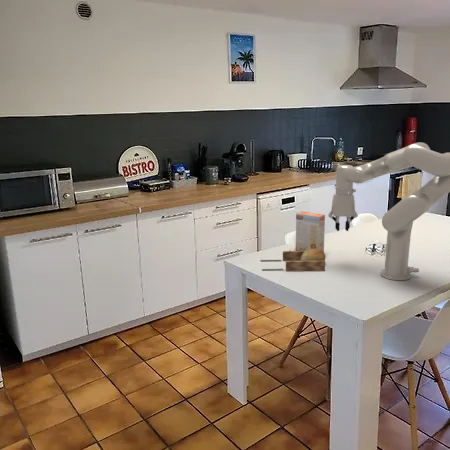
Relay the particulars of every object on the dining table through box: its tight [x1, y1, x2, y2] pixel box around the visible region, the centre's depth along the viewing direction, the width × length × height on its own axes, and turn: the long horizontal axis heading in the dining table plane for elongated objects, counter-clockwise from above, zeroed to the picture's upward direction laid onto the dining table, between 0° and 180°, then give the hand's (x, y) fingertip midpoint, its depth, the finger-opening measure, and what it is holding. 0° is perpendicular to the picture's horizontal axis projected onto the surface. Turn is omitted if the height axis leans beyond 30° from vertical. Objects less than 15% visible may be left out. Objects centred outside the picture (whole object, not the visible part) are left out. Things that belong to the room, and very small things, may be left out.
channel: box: [282, 250, 326, 272], centre depth 216 cm, size 18×16×4 cm
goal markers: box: [260, 259, 285, 272], centre depth 217 cm, size 10×14×1 cm
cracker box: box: [295, 211, 326, 253], centre depth 232 cm, size 14×6×21 cm, turn 47°
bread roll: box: [300, 249, 327, 261], centre depth 215 cm, size 10×15×8 cm, turn 133°
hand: (342, 230), depth 211 cm, fingers open, 3 cm apart
